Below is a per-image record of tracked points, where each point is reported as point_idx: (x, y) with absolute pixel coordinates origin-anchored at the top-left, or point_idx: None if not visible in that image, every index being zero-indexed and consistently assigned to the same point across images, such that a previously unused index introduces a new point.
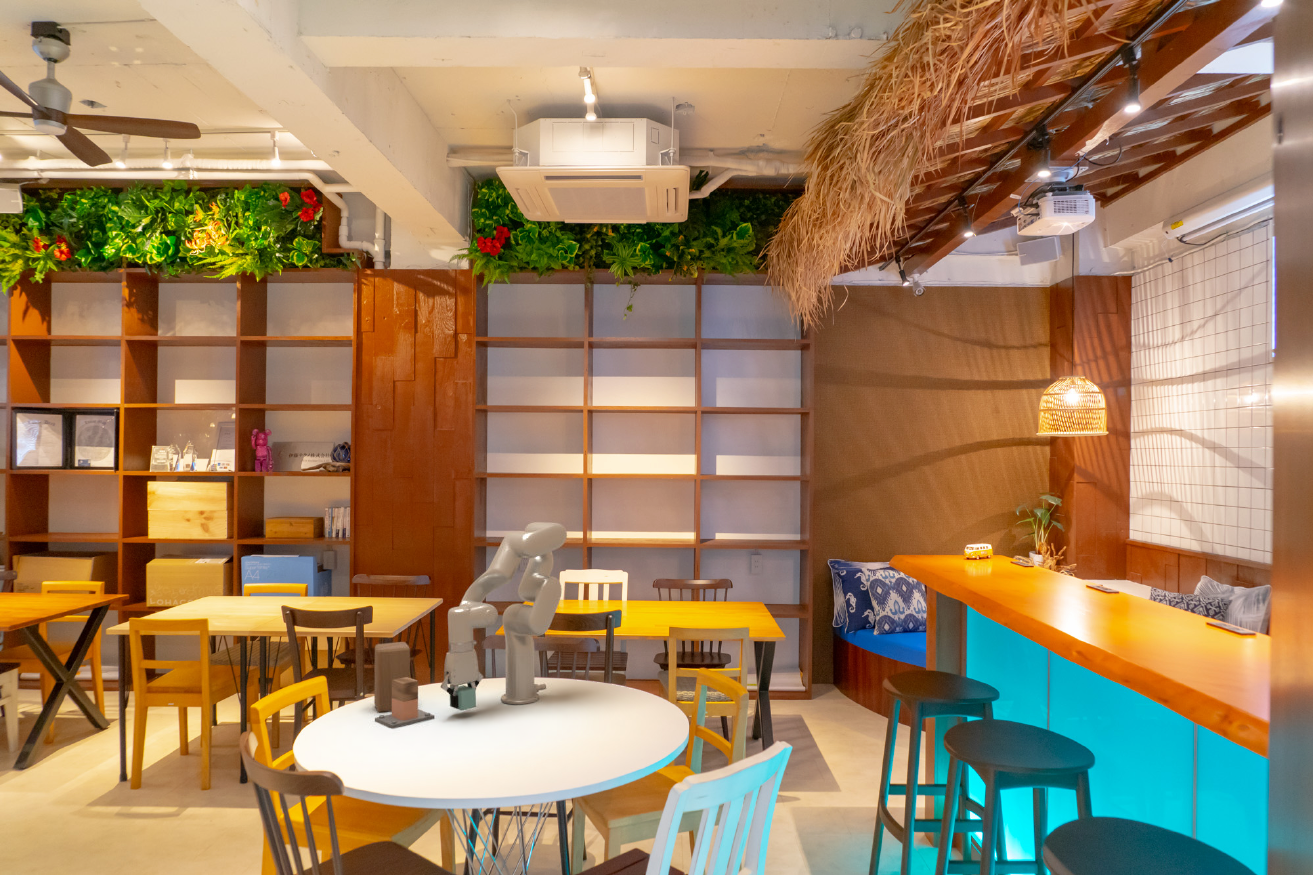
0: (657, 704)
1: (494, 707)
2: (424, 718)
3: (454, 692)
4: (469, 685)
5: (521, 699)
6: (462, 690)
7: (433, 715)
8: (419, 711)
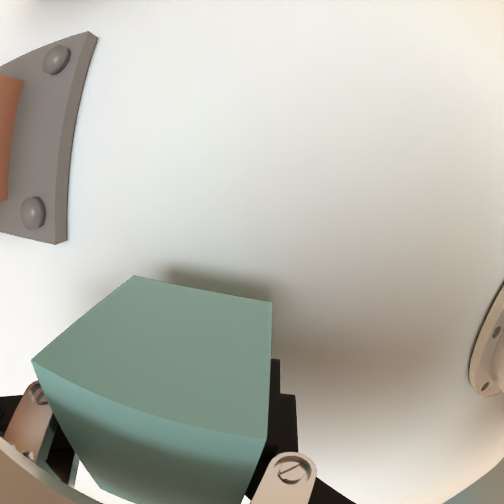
0: (468, 484)
1: (421, 345)
2: (21, 234)
3: (58, 450)
4: (267, 501)
5: (492, 379)
6: (127, 486)
7: (52, 242)
8: (53, 100)
